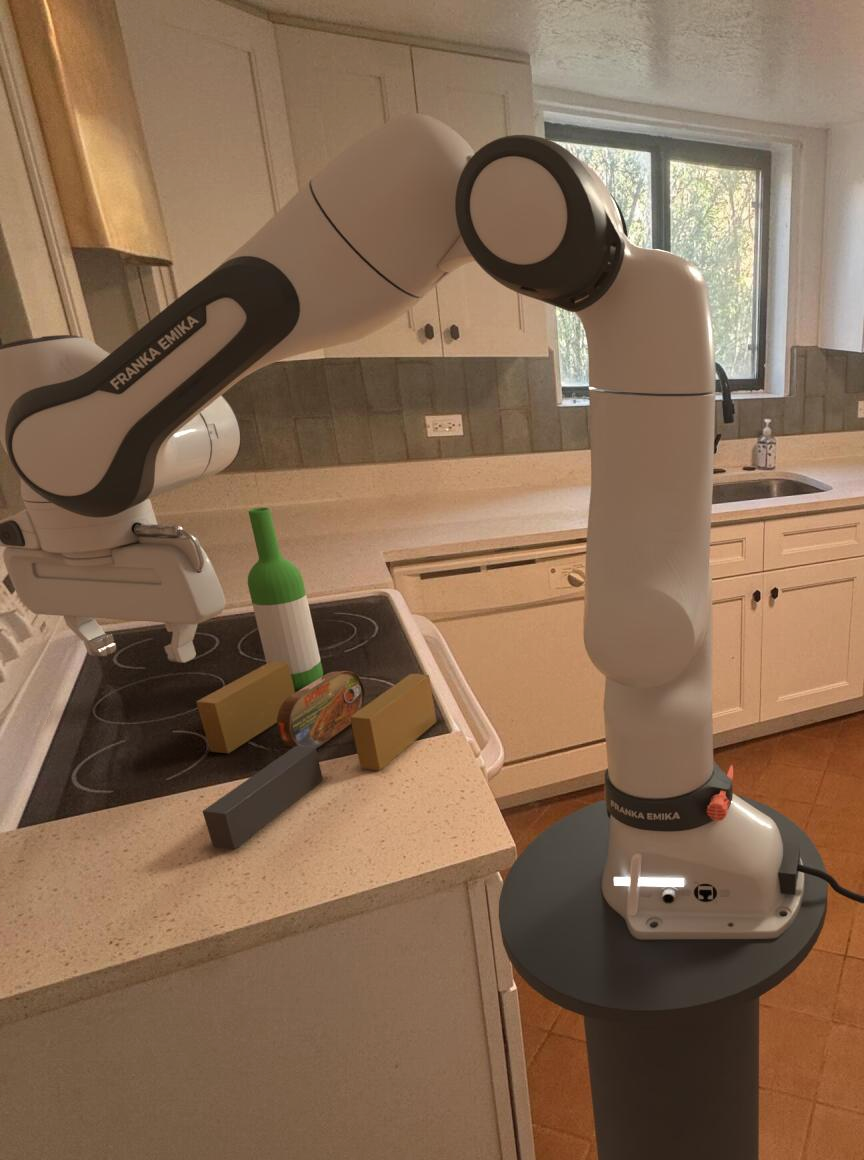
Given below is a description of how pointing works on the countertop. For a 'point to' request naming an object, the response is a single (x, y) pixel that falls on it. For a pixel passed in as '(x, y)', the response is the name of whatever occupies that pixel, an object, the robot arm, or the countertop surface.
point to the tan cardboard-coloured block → (245, 706)
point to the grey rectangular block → (262, 797)
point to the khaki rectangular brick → (393, 721)
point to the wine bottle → (282, 606)
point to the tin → (320, 709)
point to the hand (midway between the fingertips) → (143, 656)
